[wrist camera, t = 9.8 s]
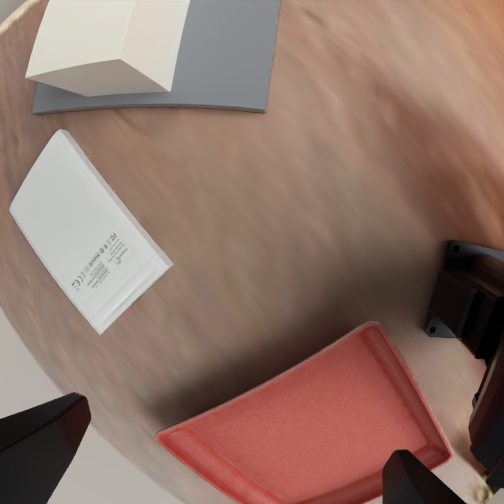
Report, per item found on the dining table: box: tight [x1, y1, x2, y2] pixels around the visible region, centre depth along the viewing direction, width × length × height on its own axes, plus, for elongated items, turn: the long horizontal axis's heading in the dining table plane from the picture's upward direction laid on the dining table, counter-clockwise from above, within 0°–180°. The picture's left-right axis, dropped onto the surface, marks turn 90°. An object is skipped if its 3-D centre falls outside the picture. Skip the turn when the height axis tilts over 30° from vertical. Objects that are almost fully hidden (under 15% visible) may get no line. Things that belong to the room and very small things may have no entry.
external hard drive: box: [9, 129, 174, 335], centre depth 19 cm, size 2×8×12 cm
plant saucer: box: [155, 320, 454, 504], centre depth 20 cm, size 18×18×3 cm
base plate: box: [32, 0, 281, 115], centre depth 14 cm, size 17×11×4 cm, turn 83°
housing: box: [25, 0, 190, 97], centre depth 12 cm, size 10×6×6 cm, turn 173°
